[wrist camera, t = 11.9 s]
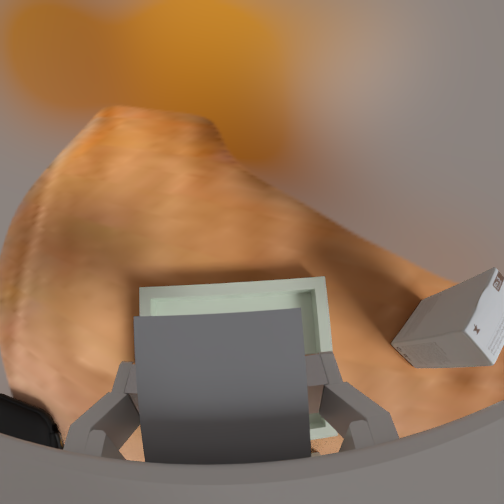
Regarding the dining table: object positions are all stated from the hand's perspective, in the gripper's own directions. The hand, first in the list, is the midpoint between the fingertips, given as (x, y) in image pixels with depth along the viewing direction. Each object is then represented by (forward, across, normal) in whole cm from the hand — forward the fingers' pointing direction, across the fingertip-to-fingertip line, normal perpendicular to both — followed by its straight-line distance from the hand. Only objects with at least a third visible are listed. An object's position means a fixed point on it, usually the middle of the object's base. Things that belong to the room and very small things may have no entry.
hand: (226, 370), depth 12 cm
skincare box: (+12, -18, +12) cm, 25 cm away
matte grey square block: (+3, 0, +4) cm, 5 cm away
